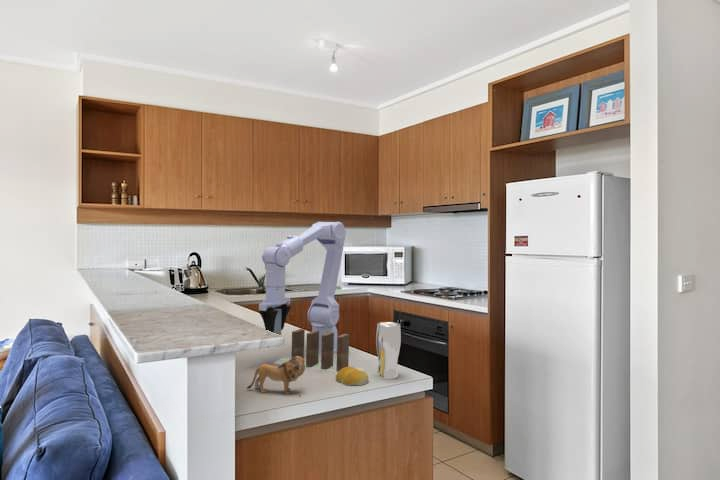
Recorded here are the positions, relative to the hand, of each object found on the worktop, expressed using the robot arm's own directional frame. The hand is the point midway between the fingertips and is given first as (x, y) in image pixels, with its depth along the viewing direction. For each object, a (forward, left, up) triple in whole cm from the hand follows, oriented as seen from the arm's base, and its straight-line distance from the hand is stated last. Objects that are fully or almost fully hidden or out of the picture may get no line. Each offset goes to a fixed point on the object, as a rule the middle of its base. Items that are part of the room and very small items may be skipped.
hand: (274, 331), depth 149 cm
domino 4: (-4, +16, -10) cm, 19 cm away
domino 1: (0, 0, -4) cm, 4 cm away
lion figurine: (+20, +14, -11) cm, 26 cm away
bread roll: (+5, +28, -11) cm, 30 cm away
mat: (-4, +13, -10) cm, 17 cm away
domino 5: (-4, +21, -10) cm, 23 cm away
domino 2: (-4, +6, -10) cm, 12 cm away
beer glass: (-4, +35, -11) cm, 37 cm away
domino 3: (-4, +11, -10) cm, 15 cm away
